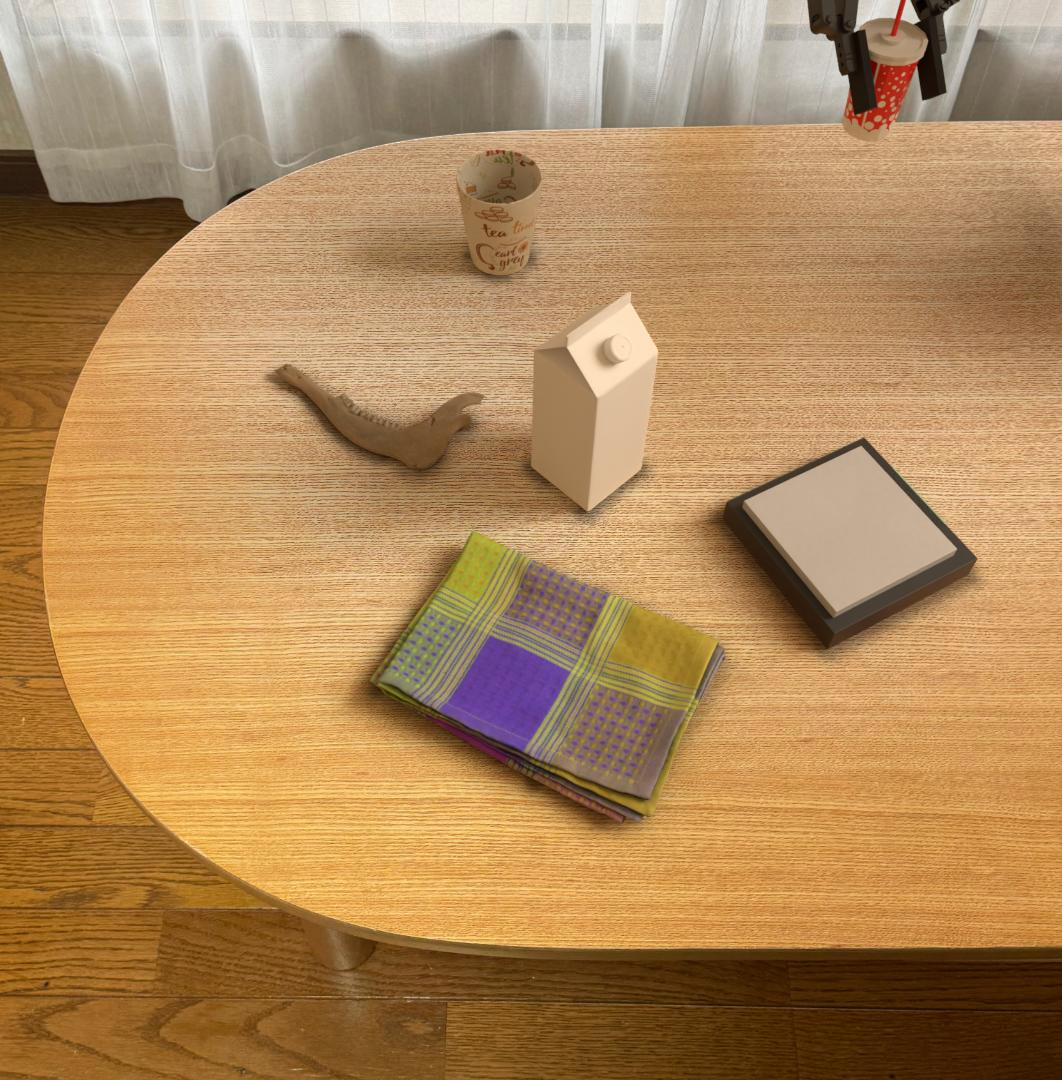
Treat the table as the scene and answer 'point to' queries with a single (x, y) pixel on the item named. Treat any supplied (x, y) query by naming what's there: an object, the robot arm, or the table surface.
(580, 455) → the milk carton
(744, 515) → the kitchen scale
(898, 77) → the beverage cup
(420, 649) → the dish towel
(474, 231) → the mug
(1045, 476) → the table surface
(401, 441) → the jawbone
